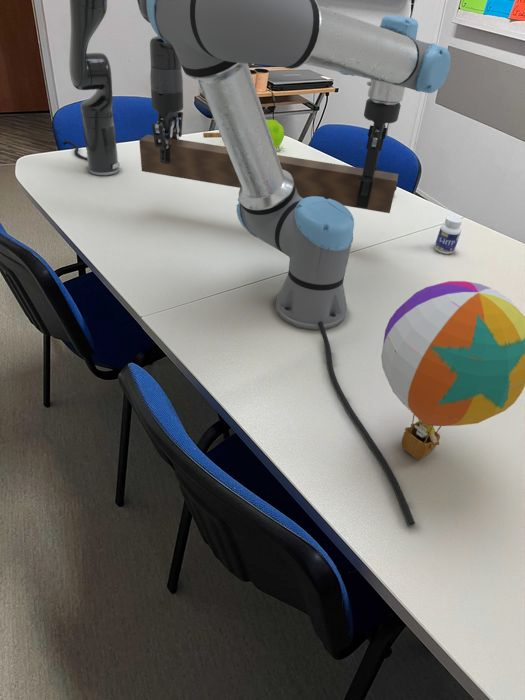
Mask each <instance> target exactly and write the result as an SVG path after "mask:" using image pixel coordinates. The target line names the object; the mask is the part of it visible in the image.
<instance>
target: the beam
mask: <svg viewBox="0 0 525 700" xmlns="http://www.w3.org/2000/svg"><path fill="white" fill-rule="evenodd" d="M165 140H166V138H165ZM138 142H139V154H140V165H141V166H140V167H141V172H144V173H148V174H149V173H150V174H154V175H155V174H156V175H161V176H166V177H167V176H168V177H173V178H179V179H184V180H185V179H186V180H190V181H191V180H192V181H196V182H202V183H208V184H213V185H214V184H215V185H221V186H225V187H226V186H227V187H232V188H239V189H240V188H241V186H242V185H241V183H240V181H239V178H238V176H237V173H236V171H235V168H234V166H233V164H232V161H231V159H230V156H229V154H228V152H227V149H226V147H225V145H217V144H210V143H205V142H198V141H192V140H185V139H180V138H179V139H173V138H172V139H170V143H169V157H170V162H169V163H168V164H165V163H161V160H160V148H158V147H155V142H154V136H153V134H146V135H144V136H143V137H142V138H139V141H138ZM158 142H159V139H158ZM277 155H278V159H279V162H280V165H281V168H282V169H283V170H285V171H287V172H289V173H290V174H291V176H292V178H293V180H294V183H295V186H296V190H297V193H298V194H299V196H300V197H302V198H306V197H312V196H318V197H324V198H325V199H332V200H335V201H337V202H339V203H341V204H342V205H344V206H345V207H349V208H355V209H356V208H357V209H362V210H368V211H373V212H379V213H386V214H390V213H391V210H392V206H393V201H394V196H395V192H396V190H395V188H396V186H397V183H398V179H399V173H395V172H389V171H383V170H378V171H376V170H375V171H374V176H373V184H372V188H371V193H370V198H369V202H368V207H367V208H363V207H357V206H356V204H357V199H358V194H359V189H360V184H361V180H359V177H362V175H363V170H364V167H357V166H350V165H344V164H337V163H332V162H324V161H319V160H311V159H307V158H300V157H293V156H286V155H280V154H277ZM396 189H397V188H396Z"/></svg>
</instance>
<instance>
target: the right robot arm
mask: <svg viewBox="0 0 525 700" xmlns="http://www.w3.org/2000/svg"><path fill="white" fill-rule="evenodd" d="M147 13H148V17H149V21H150V23H149V24H150V26H151V27H152V30H153V31H154V32H155V34H156V36H159V37H160V38H161V39H162V40H163V41H164V42H166V43H168V44H171V45H172V46H173V48H174V50H175V52H176V54H177V57H178V59H179V61H180V64H181V69H182V70H183V73H184V74H185V75H186V76H187V77H188V78H191V79H193V80H196V81H197V82H198V84H199V86H200V89H201V92H202V94H203V96H204V99H205V100H206V103H207V106H208V109H209V110H210V113H211V115H212V118H213V120H214V123H215V125H216V128H217V130H218V133H220V135H221V137H220V138H221V139H222V142H223V144H224V147H226V149H227V152H228V154H229V156H230V159H231V161H232V164H233V166H234V168H235V171H236V173H237V176H238V178H239V181H240V183H241V185H242V186H241V188H239V190H238V198H237V201H238V204H236V214H237V215H236V216H237V218H238V221H239V223H240V224H241V226H242V227H243V228H244V230H246V231H247V232H248V233H249V234H250V235H252V236H253V237H255V238H257V239H259V240H261V241H262V242H264V243H265V244H268V245H269V246H271V247H273V249H276V250H278V251H280V252H281V253H283V254H284V255H286V256H287V257H289V262H288V263H289V264H288V270H287V271H288V272H287V275H286V278H285V279H284V282H283V283H282V285H281V287H280V290H279V291H278V294H277V296H276V301H275V311H276V313H277V315H278V316H279V317H280V318H281V319H282V320H283V321H284V322H286V323H287V324H289V325H291V326H293V327H296V328H300V329H304V330H310V331H320V334H321V337H322V341H323V344H324V348H325V354H326V365H327V370H328V374H329V377H330V380H331V382H332V385H333V387H334V390H335V391H336V394H337V395H338V398H339V399H340V401H341V403H342V404H343V407H344V408H345V410H346V411H347V413H348V415H349V416H350V418H351V419H352V421H353V422H354V424H355V425H356V427H357V428H358V431H360V433H361V434H362V437H363V438H364V439H365V441H366V442H367V444H368V446H369V447H370V449H371V451H372V452H373V453H374V455H375V457H376V458H377V460H378V462H379V463H380V465H381V466H382V468H383V470H384V472H385V474H386V475H387V477H388V479H389V481H390V483H391V485H392V488H393V490H394V492H395V494H396V497H397V499H398V502H399V505H400V507H401V509H402V512H403V515H404V517H405V520H406V522H407V524H408V526H415V524H416V522H415V519H414V517H413V514H412V512H411V510H410V507H409V504H408V502H407V500H406V497H405V495H404V492H403V490H402V488H401V486H400V484H399V481H398V479H397V477H396V475H395V474H394V471H393V470H392V469H391V466H390V465H389V463H388V462H387V459H386V458H385V456H384V455H383V454H382V452H381V450H380V449H379V447H378V446H377V444H376V443H375V441H374V439H373V438H372V436H371V434H370V433H369V432H368V430H367V429H366V427H365V426H364V424H363V423H362V422H361V420H360V418H359V417H358V415H357V414H356V413H355V411H354V410H353V408H352V406H351V404H350V403H349V400H348V398H347V397H346V395H345V393H344V392H343V389H342V388H341V385H340V384H339V381H338V379H337V375H336V373H335V370H334V365H333V355H332V349H331V344H330V341H329V337H328V335H327V331H326V330H329V329H333V328H336V327H337V326H339V325H340V324H342V323H343V322H344V320H345V318H346V315H347V310H348V309H347V308H348V307H347V306H348V305H347V297H346V292H345V286H344V280H345V275H346V271H347V267H348V262H349V257H350V253H351V247H352V244H353V240H354V230H355V229H354V228H355V218H354V216H353V214H352V212H351V211H350V209H348V208H347V206H344V205H342V204H341V203H339V202H337V201H335V200H332V199H325V198H324V197H318V196H312V197H306V198H302V197H300V196H299V194H298V193H297V190H296V186H295V183H294V180H293V178H292V176H291V174H290V173H289V172H287V171H285V170H283V169H282V168H281V165H280V162H279V159H278V155H279V154H278V153H277V148H275V146H274V143H273V140H272V137H271V134H270V131H269V128H268V125H267V122H266V120H267V119H266V116H265V113H264V109H263V107H262V103H261V100H260V97H259V94H258V92H257V87H256V85H255V81H254V78H253V76H252V73H251V70H250V66H249V65H259V66H260V65H261V66H274V67H279V68H286V69H298V68H300V67H302V66H303V65H307V66H311V67H316V68H321V69H325V70H329V71H333V72H338V73H339V74H341V75H343V76H352V77H354V76H356V77H359V78H360V77H361V78H364V79H369V80H367V82H366V86H368V87H369V88H368V93H367V97H368V98H367V99H366V100H365V106H364V112H363V117H364V118H365V119H366V120H368V121H369V122H370V121H371V122H373V125H369V128H368V132H367V142H366V149H367V151H366V155H365V159H364V165H363V168H364V170H363V175H362V177H359V180H361V184H360V189H359V194H358V199H357V204H356V206H357V207H363V208H367V207H368V202H369V198H370V193H371V188H372V184H373V176H374V171H375V170H376V171H380V170H379V169H380V168H379V167H377V166H378V159H379V155H380V152H381V151H382V149H383V146H384V142H385V139H386V137H387V132H388V127H387V126H386V124H394V123H396V122H397V121H398V119H399V116H400V111H401V106H402V105H401V102H402V101H403V100H404V94H405V90H406V88H407V89H411V90H413V91H416V92H418V93H420V92H421V93H425V94H433V93H435V92H436V91H438V90H439V89H440V88H441V87H442V86H443V84H444V83H445V81H446V79H447V77H448V74H449V72H450V67H451V62H452V61H451V59H452V58H451V54H450V51H449V50H448V49H447V48H446V47H444V46H441V45H438V44H436V43H431V42H430V43H429V42H425V41H421V40H419V39H417V34H418V30H419V23H418V20H417V19H415V18H413V17H410V16H404V15H403V16H402V15H394V14H393V15H392V14H391V15H390V14H388V15H385V16H383V17H382V19H381V22H380V25H375V24H373V23H370V22H368V21H364V20H361V19H359V18H355V17H353V16H350V15H347V14H344V13H341V12H340V11H339V12H338V11H336V10H333V9H331V8H327V7H325V6H321V5H319V3H318V1H317V0H147Z"/></svg>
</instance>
